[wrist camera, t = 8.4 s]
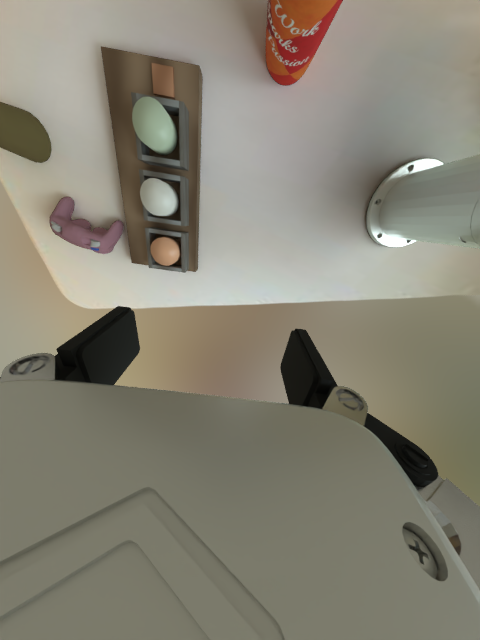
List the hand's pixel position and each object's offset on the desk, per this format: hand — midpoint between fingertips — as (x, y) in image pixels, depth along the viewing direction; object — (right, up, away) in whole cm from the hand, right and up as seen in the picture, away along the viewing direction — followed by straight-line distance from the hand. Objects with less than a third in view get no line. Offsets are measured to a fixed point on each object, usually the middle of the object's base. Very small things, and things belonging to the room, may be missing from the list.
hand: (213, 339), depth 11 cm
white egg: (-10, +20, +17) cm, 28 cm away
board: (-11, +23, +20) cm, 33 cm away
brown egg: (-11, +14, +22) cm, 28 cm away
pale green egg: (-9, +26, +14) cm, 31 cm away
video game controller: (-25, +18, +23) cm, 38 cm away
